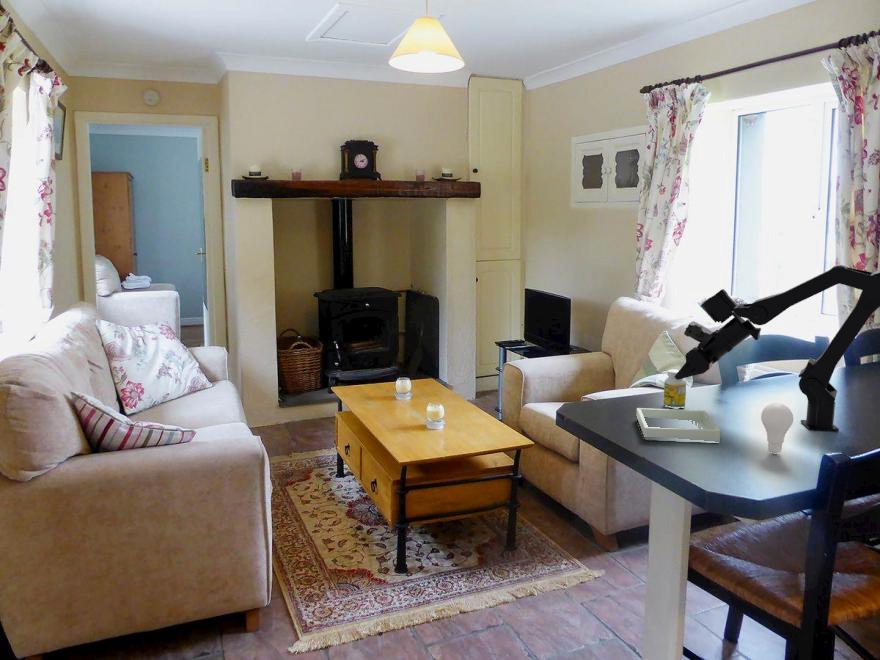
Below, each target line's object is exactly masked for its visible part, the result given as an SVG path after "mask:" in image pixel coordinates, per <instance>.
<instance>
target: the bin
mask: <svg viewBox="0 0 880 660" xmlns="http://www.w3.org/2000/svg"><path fill="white" fill-rule="evenodd" d="M636 416H637V419H638V421H639V424H640V426H641V429H642V431H643V434H644V437H664V438H678V439H690V440H704V441H715V442H719V443H720V439H721V430H720V429H719V428H718V426H717V424H716V423H715V422H714V420H713V419H712V418H711V417H710V414H708V412H707V411H706V410H701V409H669V408H650V407H649V408H647V407H646V408H645V407H643V408H642V407H637V408H636ZM644 417H648V418H665V419H678V420H688V421H689V420H692V421H691V422H692V424H693V421H695V425H696V426H697V423H698V428H699V429H685V428H660V427H648V425H647V423H646V421H645V418H644ZM701 427H702V428H703V429H701Z"/></svg>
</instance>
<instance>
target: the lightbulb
mask: <svg viewBox="0 0 880 660" xmlns="http://www.w3.org/2000/svg"><path fill="white" fill-rule="evenodd" d="M760 419H761V420H760V421H761V422H762V425H763V426H764V429H765V432H766V438H767V439H766V441H767V451H769V452H770V453H771V452H772V453H777V454H779V453H781V452H782V449H783V448H782V447H783V443H784V442H785V438H786V434H787V432H788V431H789V430H790V428H791V427H792V425H793V424H794V423H793V422H794V414H793V412H792V410H791V408H789V407H788V406H787V405H785V404H783V403H781V402H780V403H779V402H775V403H774V402H773V403H770V404H768V405H767V406H766V407H764V408H763V409H762V411H761V415H760ZM772 453H771V454H772Z"/></svg>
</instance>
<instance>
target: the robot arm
mask: <svg viewBox="0 0 880 660" xmlns="http://www.w3.org/2000/svg"><path fill="white" fill-rule="evenodd" d="M839 284H840V285H844V286H847V287H850V288H853V289H856V290H861V292H860V294H859V297H858V299H857V302H856V304H855V306H854V307H853V308H852V309H851V311H850V313H849V315H847V317H846V319H845V320H844V322H843V323H842V324H841V327H839V329H838V330H837V332H836V333H835V335H834V336H833V338H832V339H831V341H830V342H829V344H828V346H826V348H825V349H824V351H823V353H822V354H821V355H820V356H819V357H818V358H817V359H816V360H815V359H814V358H812V357H809V358H808V362H807V363H806V365H805V367H804V368H803V369H801V370H800V372H799V373H798V378H800V379H799V381H798V387H799V390H800V392H801V393H802V394H804V396H806V398H807V407H806V408H807V409H806V416H805V417H806V419H801V420H800V423H801V424H802V425H804V427H806V428H807V429H808V430H811V431H836V432H837V431H840V428H839V427H837V426H836V425H835V424H834V423H835V410H836V402H835V401H836V398H837V394H838V390H837V389H836V388H835V387H834V386H833V385H832V384H831V382H830V381H831V379H832V376H833V374H834V371H835V369H836V366H837V364H838V363H839V362H840V360H842V357H843V356H844V354H845V353H846V352H847V350H848V348H850V346H851V345H852V343H853V342H854V340H855V339H856V337H857V335H858V334H859V333H860V331H861V330H862V329H863V327H864V326H865V324H866V323H867V321H868V320H869V318H870V317H871V315H872V314H874V312H875V311H876V310H878V309H879V308H880V270H877V271H874V272H872V271H867V270H863V269H859V268H854V267H853V268H852V267H848V266H846V265H843V264H837V265H834V266H832V267H831V268H830V269H828V270H826V271H824V272H822V273H820V274H818V275H816V276H814V277H812V278H810V279H808V280H806V281H803V282H802V283H800V284H797V285H796V286H793V287H791V288H789V289H787V290H784V291H782V292H780V293H779V292H778V293H776V294H770V295H768V296H764V297H762V298H759V299H757V300H755V301H753V302H752V303H738V304H737V302H735V301H734V300H733V298H731V296H730V295H729V294H728V292H727V291H726V290H725V288H722V289H720V290H719V291H717V293H714V295H712V296H710V297H709V298H708V299H706V300H705V301H704V302H703V303H702V304H700V307H701V309H702V310H703V311H704V312H705V314H707V315H708V316H709V318H711V320H713V322H714V323H717V322H718V323H721V324H723V323H725V322H726V321H727V320H729V319H730V318H731V317H732V316H733V318H732V319H731V320H729V321H728V322H727V323H725V324H724V325H722V326H721V327H720V328H719V329H716V330H715V331H712V330H710V329H709V328H707V327H705V326H704V325H702V324H700V323H698V322H696V321H691V322H689V323H688V325H687V327H686V328H685V330H684V332H683V335H684V336H686V337H689V338H691V339H693V340H695V341H697V342H699V343H698V344H697V346H695V347H692V349H690V350H689V351H687V352H686V354H685V363H684V364H683V365H682V367H681V368H680V369H678V370H679V371H678V373H677V374H676V375H675V376H674V377H675V378H676V380H679V379H686V378H690V377H694V376H699V375H703V374H705V373H707V372H708V371H709V370H710V369H711V368H713V365H714V364H715V363H717V362H719V360H721V359H722V358H723V357H724V356H726V355H727V354H728V353H730V352H731V351H733V349H735V348H736V347H737V346H738V345H739V344H741V343H743V342H744V341H745V340H746V339H748V338H749V337H750V336H751V337H752V338H753V340H755V341H758V340H759V339H760V338H761V331H762V328H761V327H755V325H756V326H763V325H766V324H768V323H770V322H771V321H773V319H775V318H776V317H778V316H779V315H781V314H782V313H783V312H784V311H787V309H789V308H790V307H792V306H795V305H796V304H798V303H801V302H803V301H806V300H807V299H809V298H811V297H813V296H815V295H818V294H820V293H821V292H824V291H826V290H828V289H830V288H832V287H834V286H836V285H839ZM745 319H746V320H745Z"/></svg>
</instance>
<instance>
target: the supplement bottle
mask: <svg viewBox="0 0 880 660" xmlns="http://www.w3.org/2000/svg"><path fill="white" fill-rule="evenodd" d="M679 370H680V369H668V370H667V377H666V378H665V379H664V386H663V388H664V389H663V405H664V404H665V405H667V406H671V407H680V408H681V407H686V399H687V398H686V396H687V391H686V390H687V381H686V378H683V379H679V380H676V378H675V377H674V376H675V375H676V374H677V373H678V371H679Z"/></svg>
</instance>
